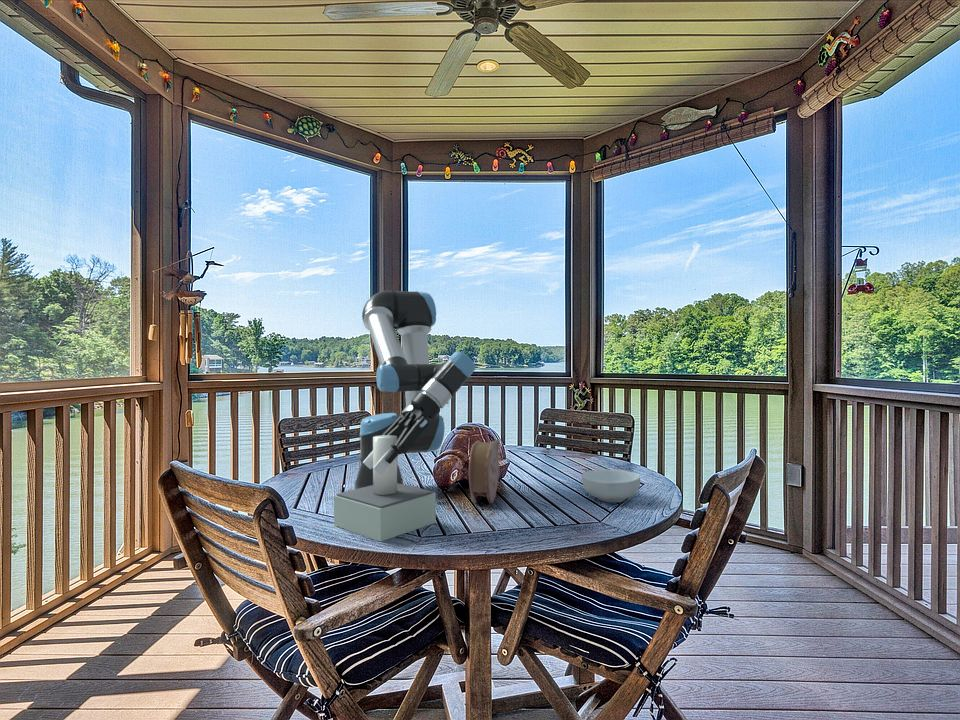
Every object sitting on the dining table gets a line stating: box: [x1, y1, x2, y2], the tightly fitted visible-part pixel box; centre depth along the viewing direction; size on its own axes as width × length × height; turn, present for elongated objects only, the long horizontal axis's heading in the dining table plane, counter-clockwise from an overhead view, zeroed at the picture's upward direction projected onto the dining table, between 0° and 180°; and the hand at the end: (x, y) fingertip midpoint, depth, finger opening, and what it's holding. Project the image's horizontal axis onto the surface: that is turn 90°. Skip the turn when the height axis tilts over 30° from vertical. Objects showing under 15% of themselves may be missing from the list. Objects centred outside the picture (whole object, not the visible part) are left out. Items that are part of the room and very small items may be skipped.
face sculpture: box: [468, 438, 501, 504], centre depth 163 cm, size 20×7×17 cm, turn 171°
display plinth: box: [333, 483, 437, 542], centre depth 139 cm, size 18×18×8 cm
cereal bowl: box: [581, 468, 641, 503], centre depth 162 cm, size 17×17×7 cm
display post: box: [373, 435, 398, 495], centre depth 139 cm, size 6×6×14 cm
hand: (371, 468), depth 137 cm, fingers open, 7 cm apart
